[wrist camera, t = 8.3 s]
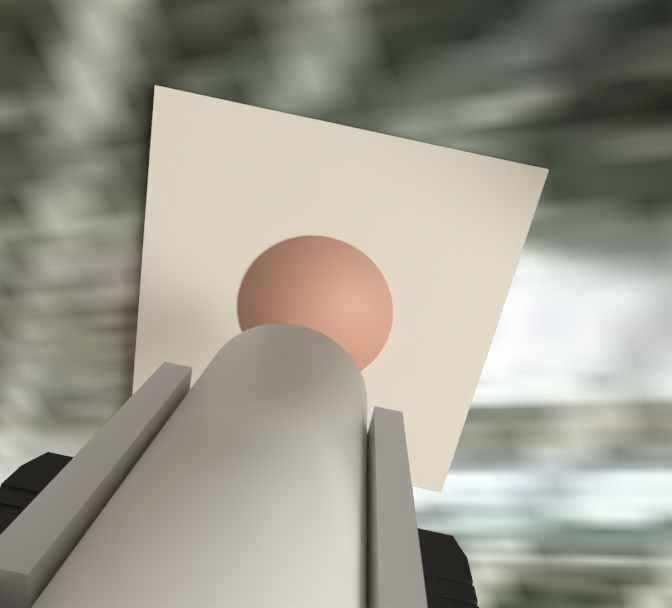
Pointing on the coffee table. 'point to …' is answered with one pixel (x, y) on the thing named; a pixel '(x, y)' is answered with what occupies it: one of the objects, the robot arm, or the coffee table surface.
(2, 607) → the robot arm
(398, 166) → the card
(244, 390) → the plastic tube
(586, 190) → the coffee table surface
